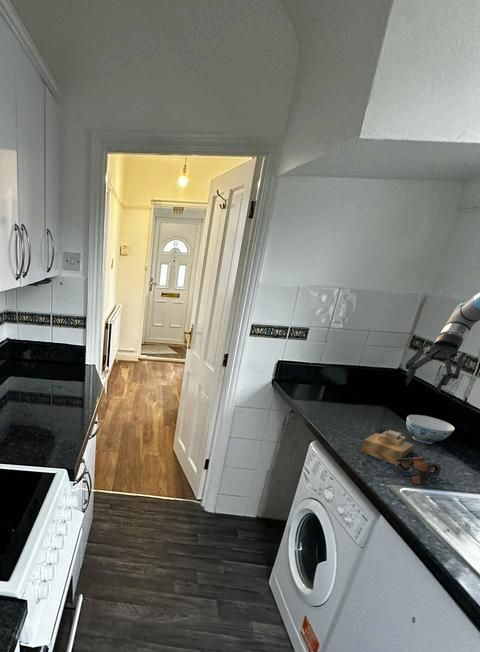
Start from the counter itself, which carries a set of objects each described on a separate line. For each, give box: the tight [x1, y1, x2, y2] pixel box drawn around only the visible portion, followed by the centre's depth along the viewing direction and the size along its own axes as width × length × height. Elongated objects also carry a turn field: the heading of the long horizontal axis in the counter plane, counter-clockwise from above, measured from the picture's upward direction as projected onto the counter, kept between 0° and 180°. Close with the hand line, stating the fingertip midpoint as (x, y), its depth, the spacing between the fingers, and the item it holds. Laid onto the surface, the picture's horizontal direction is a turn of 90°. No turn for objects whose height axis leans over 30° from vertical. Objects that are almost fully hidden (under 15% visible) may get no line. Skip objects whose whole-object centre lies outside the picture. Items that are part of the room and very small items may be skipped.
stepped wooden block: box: [359, 430, 414, 465], centre depth 146 cm, size 12×11×7 cm
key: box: [385, 429, 402, 439], centre depth 146 cm, size 4×4×2 cm
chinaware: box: [406, 414, 455, 445], centre depth 161 cm, size 15×15×8 cm
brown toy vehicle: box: [393, 456, 442, 485], centre depth 132 cm, size 12×10×8 cm
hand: (420, 387), depth 148 cm, fingers open, 9 cm apart
